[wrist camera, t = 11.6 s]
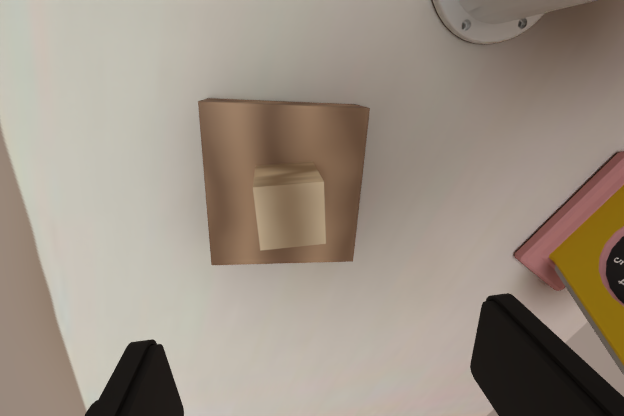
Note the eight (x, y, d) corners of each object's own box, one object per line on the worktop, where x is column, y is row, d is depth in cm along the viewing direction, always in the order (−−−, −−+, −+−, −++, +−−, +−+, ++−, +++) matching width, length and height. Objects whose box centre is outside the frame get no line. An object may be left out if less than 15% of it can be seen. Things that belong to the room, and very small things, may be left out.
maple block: (312, 161, 28) (323, 181, 22) (315, 213, 30) (325, 243, 24) (255, 165, 27) (252, 187, 22) (261, 218, 29) (260, 250, 24)
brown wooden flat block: (354, 104, 31) (369, 108, 27) (342, 238, 37) (352, 261, 32) (209, 97, 29) (198, 101, 25) (219, 240, 35) (211, 265, 30)
